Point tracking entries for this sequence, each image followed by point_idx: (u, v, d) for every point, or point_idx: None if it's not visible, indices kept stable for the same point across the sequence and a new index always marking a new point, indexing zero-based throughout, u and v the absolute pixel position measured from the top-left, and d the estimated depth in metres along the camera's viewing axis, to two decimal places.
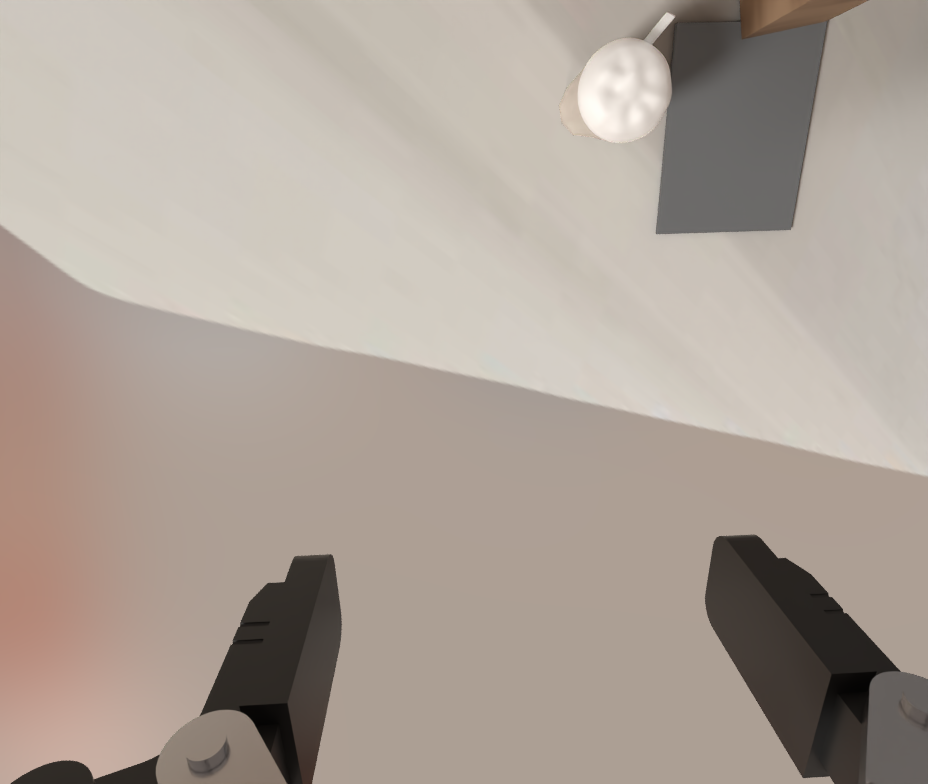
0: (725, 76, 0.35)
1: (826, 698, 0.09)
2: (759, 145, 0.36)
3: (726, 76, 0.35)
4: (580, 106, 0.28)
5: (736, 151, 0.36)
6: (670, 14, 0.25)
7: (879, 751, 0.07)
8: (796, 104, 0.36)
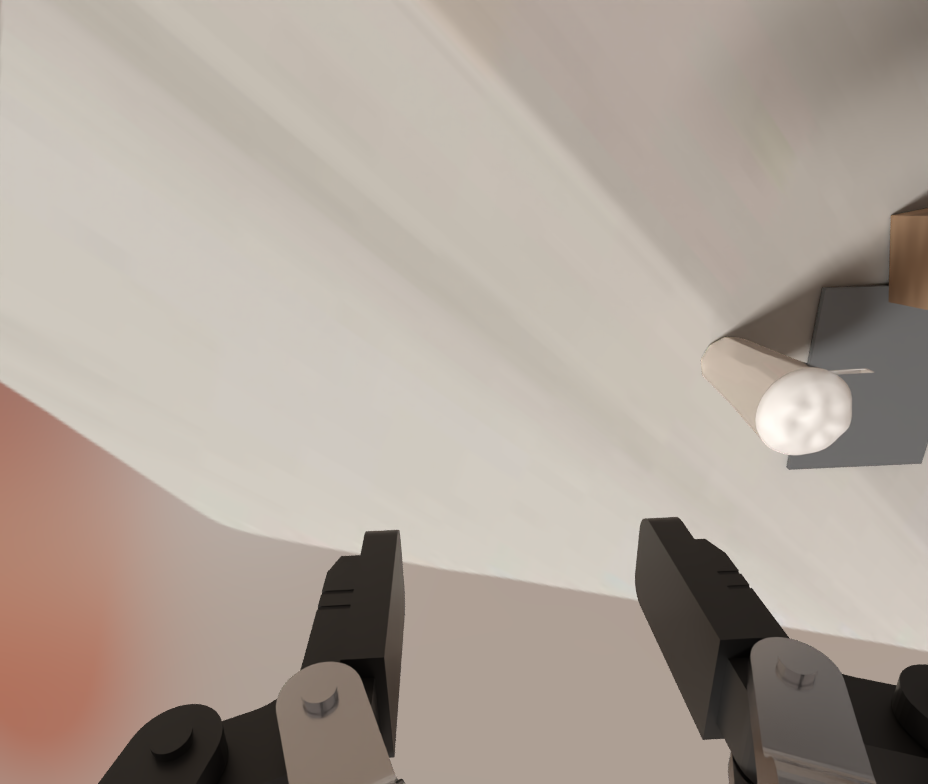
0: (868, 333, 0.35)
1: (717, 663, 0.09)
2: (897, 392, 0.36)
3: (870, 333, 0.35)
4: (759, 427, 0.28)
5: (874, 397, 0.36)
6: (869, 370, 0.25)
7: (769, 721, 0.08)
8: None
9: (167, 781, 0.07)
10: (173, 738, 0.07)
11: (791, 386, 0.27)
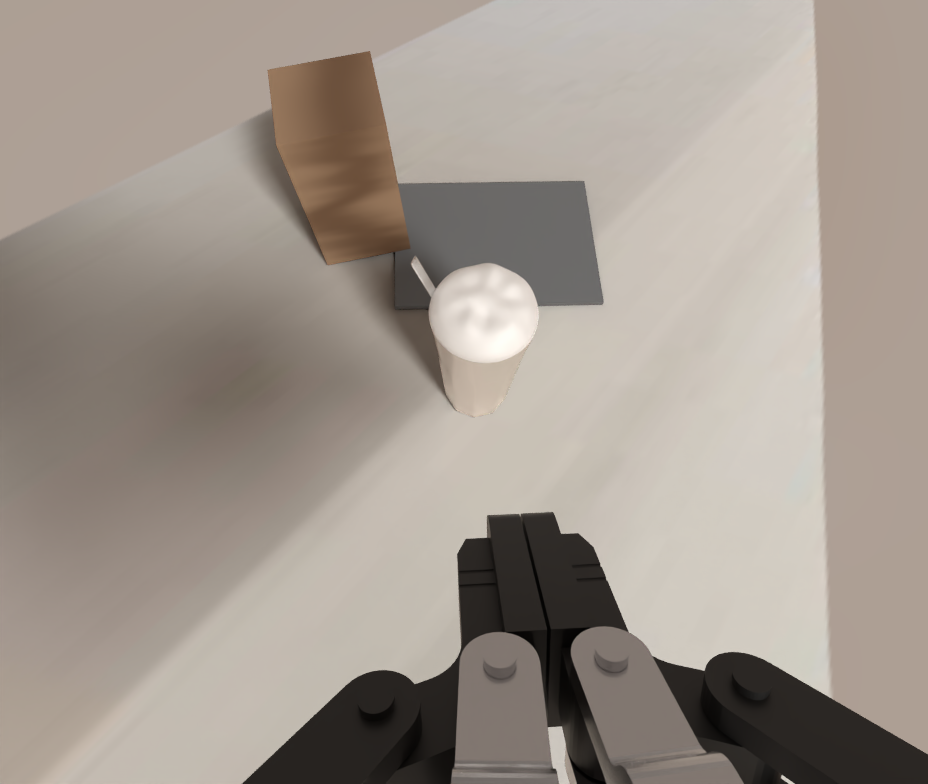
0: (443, 258, 0.34)
1: (551, 652, 0.09)
2: (505, 219, 0.35)
3: (442, 256, 0.34)
4: (502, 356, 0.23)
5: (512, 238, 0.35)
6: (413, 260, 0.22)
7: (606, 722, 0.08)
8: (467, 195, 0.36)
9: (383, 739, 0.07)
10: (377, 701, 0.08)
11: (446, 332, 0.23)
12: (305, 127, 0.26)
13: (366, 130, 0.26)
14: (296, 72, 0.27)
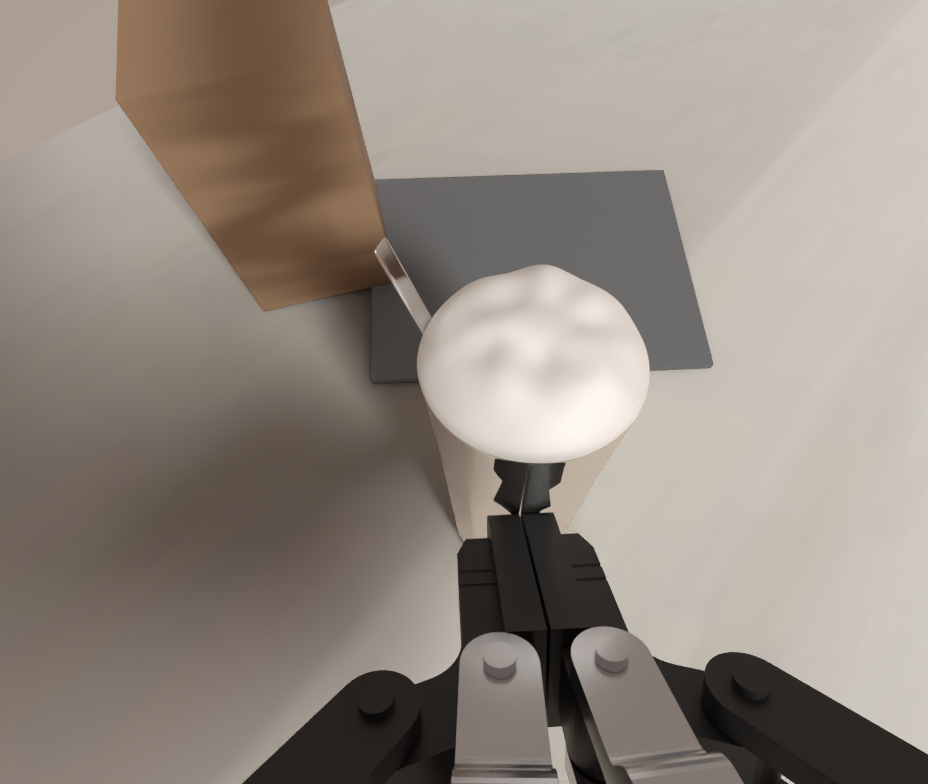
0: (449, 296, 0.21)
1: (551, 652, 0.09)
2: (545, 232, 0.22)
3: (448, 294, 0.21)
4: (583, 447, 0.10)
5: (559, 262, 0.22)
6: (380, 246, 0.10)
7: (605, 722, 0.08)
8: (483, 195, 0.23)
9: (383, 739, 0.07)
10: (377, 701, 0.08)
11: (453, 396, 0.10)
12: (177, 66, 0.13)
13: (295, 68, 0.13)
14: None
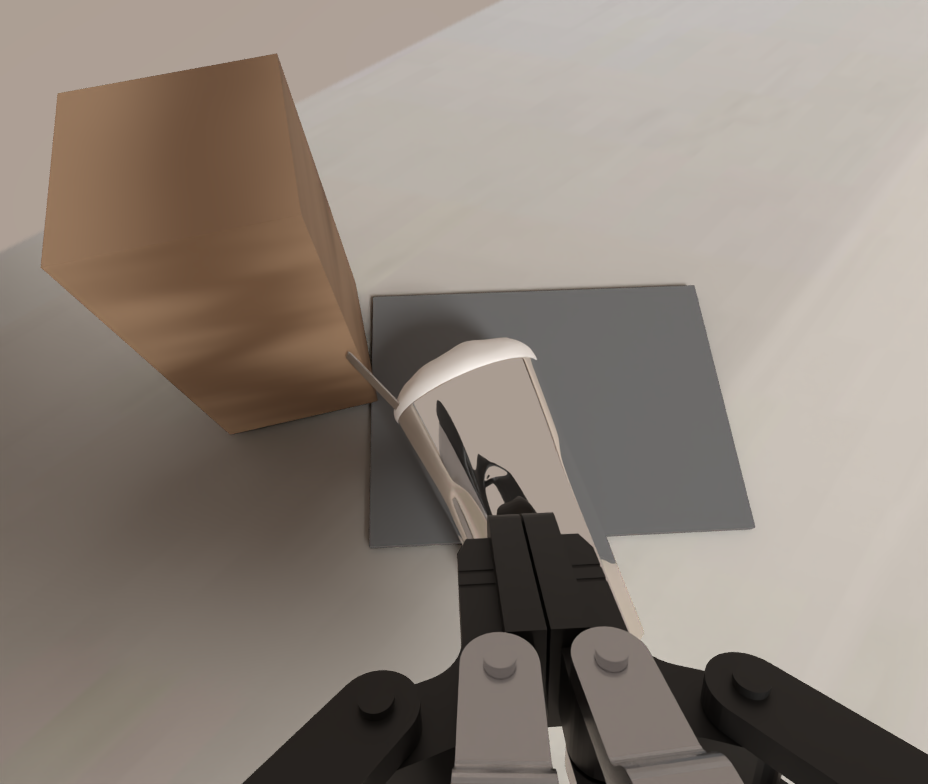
0: None
1: (551, 652, 0.09)
2: (565, 361, 0.20)
3: None
4: None
5: (579, 398, 0.20)
6: (348, 354, 0.16)
7: (606, 722, 0.08)
8: (495, 316, 0.21)
9: (383, 740, 0.07)
10: (376, 701, 0.08)
11: (450, 355, 0.15)
12: (117, 223, 0.11)
13: (255, 228, 0.11)
14: (117, 98, 0.13)
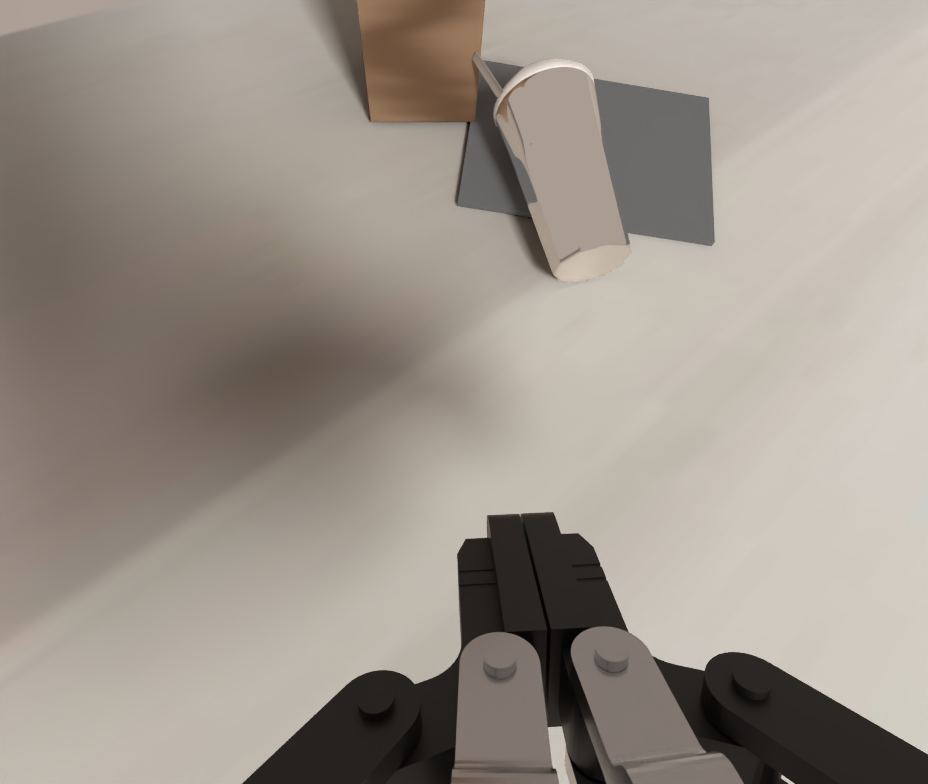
0: None
1: (551, 652, 0.09)
2: (607, 125, 0.29)
3: None
4: None
5: (613, 148, 0.28)
6: (474, 55, 0.25)
7: (605, 722, 0.08)
8: None
9: (383, 739, 0.07)
10: (376, 701, 0.08)
11: (544, 60, 0.24)
12: None
13: None
14: None
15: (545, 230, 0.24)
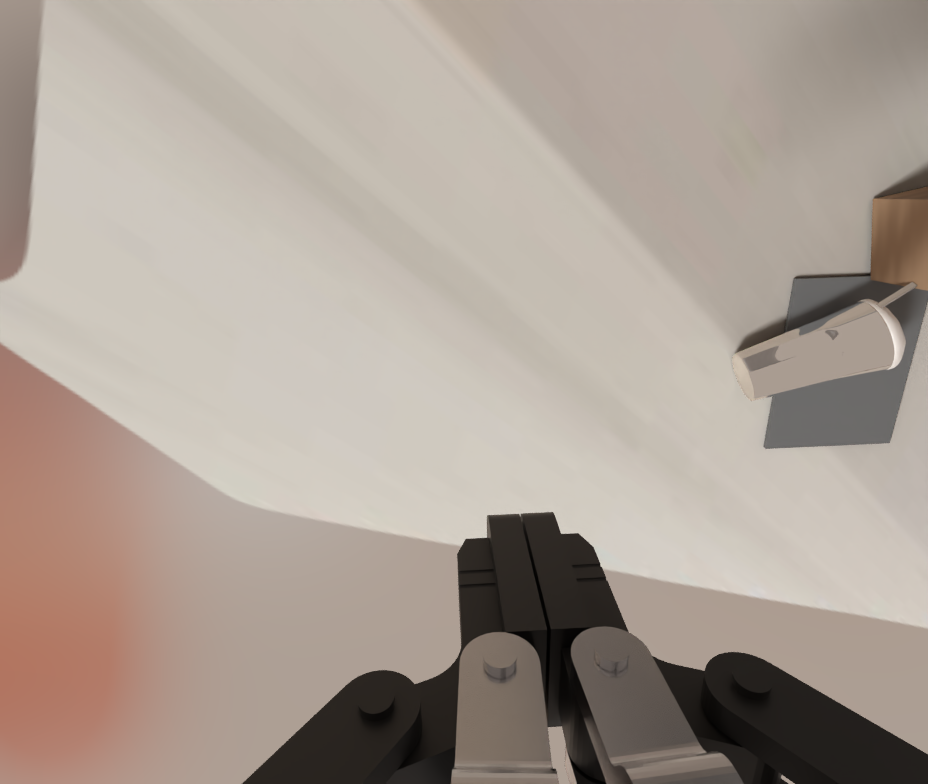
0: None
1: (551, 652, 0.09)
2: (865, 375, 0.39)
3: None
4: (892, 367, 0.35)
5: (843, 381, 0.39)
6: (914, 284, 0.33)
7: (606, 722, 0.08)
8: None
9: (383, 739, 0.07)
10: (377, 701, 0.08)
11: (902, 336, 0.34)
12: None
13: None
14: None
15: (766, 346, 0.36)
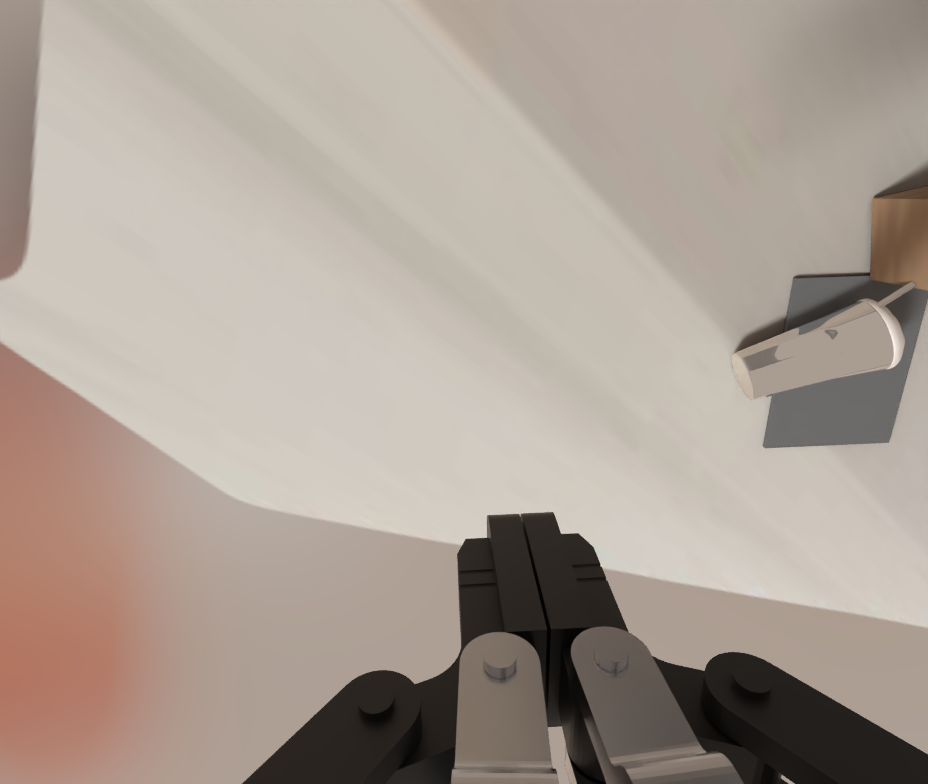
0: None
1: (551, 652, 0.09)
2: (864, 375, 0.39)
3: None
4: None
5: (843, 380, 0.39)
6: (913, 284, 0.33)
7: (606, 722, 0.08)
8: None
9: (383, 739, 0.07)
10: (377, 701, 0.08)
11: (901, 336, 0.34)
12: None
13: None
14: None
15: (766, 346, 0.36)
